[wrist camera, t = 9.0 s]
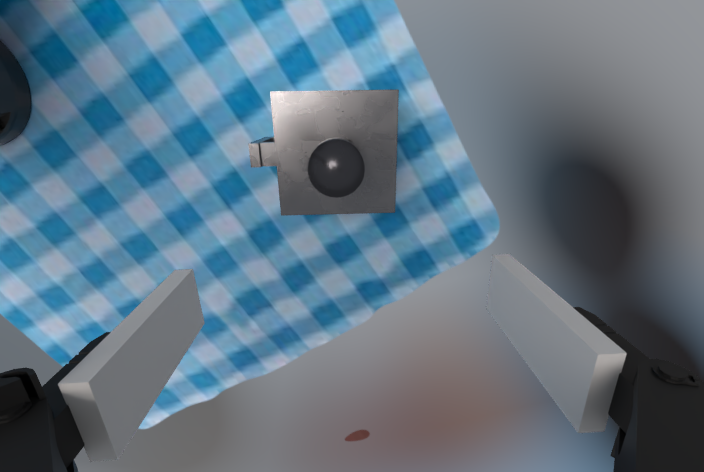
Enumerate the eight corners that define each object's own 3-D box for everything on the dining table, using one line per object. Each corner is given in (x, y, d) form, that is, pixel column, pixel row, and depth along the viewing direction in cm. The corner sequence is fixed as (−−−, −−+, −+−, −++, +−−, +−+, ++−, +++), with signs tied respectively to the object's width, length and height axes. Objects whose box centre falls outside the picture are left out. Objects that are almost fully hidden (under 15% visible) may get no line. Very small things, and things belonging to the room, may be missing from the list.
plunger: (370, 109, 43) (393, 109, 25) (369, 177, 46) (390, 221, 28) (301, 110, 43) (274, 111, 25) (305, 178, 46) (284, 224, 28)
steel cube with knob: (381, 95, 45) (398, 89, 32) (379, 185, 50) (395, 212, 37) (266, 97, 45) (237, 92, 32) (274, 187, 49) (252, 216, 36)
